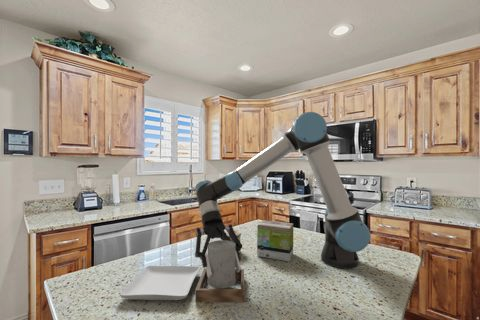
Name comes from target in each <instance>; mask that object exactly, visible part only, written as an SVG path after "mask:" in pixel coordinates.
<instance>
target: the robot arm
mask: <svg viewBox="0 0 480 320" xmlns="http://www.w3.org/2000/svg"><path fill="white" fill-rule="evenodd" d="M292 124H293V125H292V126H291V127H290V128H289V129H288V130H287V131H285V132H284V133H283V134H282V137H281V138H280V139H279V138H278V140H277V141H275V142H273V143H271V145H270V146H268V147H266V148H265V149H264V150H262V151H260V152H259V153H258V154H257V155H255V156H254V157H252V158H251V159H249V160H248V161H247V162H245V163H243V164H242V165H241V166H240V167H238V168H236V169H235V170H233V171H231V172H228V173H226V174H224V175H222V176H221V177H219V178H217V179H215V180H214V181H211V180H209V179H205V180H200V181H199V182H198V183H196V185H195V196H196V199H197V202H198V208H199V213H200V217H201V222H202V228H200V227H197V228H196V229H195V236H196V241H195V243H196V244H195V252H194V256H195V258H199V259H200V260H201V265H202V268H203V269H206V271H207V276H208V278H210V277H211V275H212V272H211V267H210V263H209V258H208V254H206V253H207V252H208V244H209V243H210V241H211V240H212V239H213V240H214V239H219V240H227V241H232V242H234V243H235V244H236V253H235V269H236V271H237V272H240V270H241V269H242V266H241V263H240V261H241V259H242V258H241V255H240V253H239V251H240V252H241V250H242V249H243V244H242V243H241V240H240V241H239V239H238V237H237V236H236V234H235V232H234V231H233V228H234V227H233V225H232V223H231V224H229V225H226V224H224V221H223V218H222V214H221V210H220V207H219V202H218V200H221V199H222V198H223V197H225V196H227V195H229V194H232V193H233V192H236V191H238V190H239V189H241V188H242V187H243V185H245V184H246V183H247V182H249V181H250V180H252V179H253V178H255V177H256V176H258V175H260V173H262V172H263V171H265V170H267V169H268V168H269V167H271V166H273V165H274V164H276V163H277V162H278V161H280V160H281V159H283V158H284V157H286V156H288V154H290V153H292V152H293V153H295V152H297V151H298V150H300V153H302V154H304V155H305V156H306V158H307V161H308V163H309V165H310V169H311V170H312V173H313V176H314V178H315V181H316V183H317V186H318V188H319V191H320V193H321V196H322V199H323V201H324V205H325V206H326V209H325V212H324V224H325V225H324V229H325V232H324V234H325V235H324V237H325V238H324V244H323V248H322V250H321V255H320V260H321V261H322V262H323V263H324V264H326V265H329V266H330V267H333V268H339V269H355V268H357V267H358V266H359V265H360V259H359V256H358V252H360V251H362V250H365V248H366V247H367V246H368V245H369V243H370V242H371V238H372V237H371V232H370V229H369V228H368V226H367V225H366V223H364V222H363V220H362V217H361V215H360V212H359V210H358V208H357V207H354V206H352V204H351V201H350V198H349V196H348V193H347V192H346V191H347V190H346V189H345V187H344V184H343V181H342V179H341V177H340V174H339V172H338V169H337V167H336V163H335V161H334V159H333V156H332V154H331V152H330V149H329V145H330V142H331V140H330V138H329V135H328V132H327V129H328V128H327V122H326V120H325V118H324V116H322V115H321V114H320V113H317V112H315V111H306V112H304V113H301V114H300V115H299V116H297V117H296V118H295V120H294V121H293V123H292ZM225 231H227V232H228V234H229V236H230V237H231V239H232V240H231V239H230V238H229V237H228V236H227V235H226V233H225ZM203 234H205V235H206V239H205V242H204V245H203V248H202V251H201V246H202V245H201V243H202V235H203Z"/></svg>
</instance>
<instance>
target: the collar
mask: <svg viewBox="0 0 480 320" xmlns="http://www.w3.org/2000/svg"><path fill="white" fill-rule="evenodd" d="M235 279H236V281H240V288H204V286H205V284H206V281H208V276H207V271H206V268H203V270H202V273H201V275H200V278H199V280H198V283H197V285H196V288H195V303H196V302H197V303H199V302H200V303H203V302H204V303H206V302H207V303H245V269H244V268H241V270H240V272H237V271H236V268H235Z"/></svg>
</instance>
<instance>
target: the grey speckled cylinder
mask: <svg viewBox="0 0 480 320" xmlns="http://www.w3.org/2000/svg"><path fill="white" fill-rule="evenodd" d="M235 253H236V244H235V243H234V242H232V241H227V240H221V239H219V240H213V241H211V242H210V241H209V244H208V248H207V255H208V258H209V263H210V267H211V272H212V275H211V277H210V278H208V280H206V281H207V284H208V285H209V287H211V288H213V289H229V288H231V287H233V286H234V285H235V283H236V281H237V280H236V279H235V269H236V267H235Z"/></svg>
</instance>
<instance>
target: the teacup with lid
mask: <svg viewBox="0 0 480 320" xmlns="http://www.w3.org/2000/svg"><path fill="white" fill-rule="evenodd" d="M224 231H225V233H226V235H227V236H228V237H229V238H230V239H231V237H230V236H229V234H228V232H227V231H226V230H224ZM233 231H234V232H235V234H236V236H237V237H238V239H239V241H240V242H241V236H242V233H241V232H240V231H239V230H236V229H234V227H233ZM231 240H232V239H231ZM240 253H241V250H240V251H239V254H240Z"/></svg>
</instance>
